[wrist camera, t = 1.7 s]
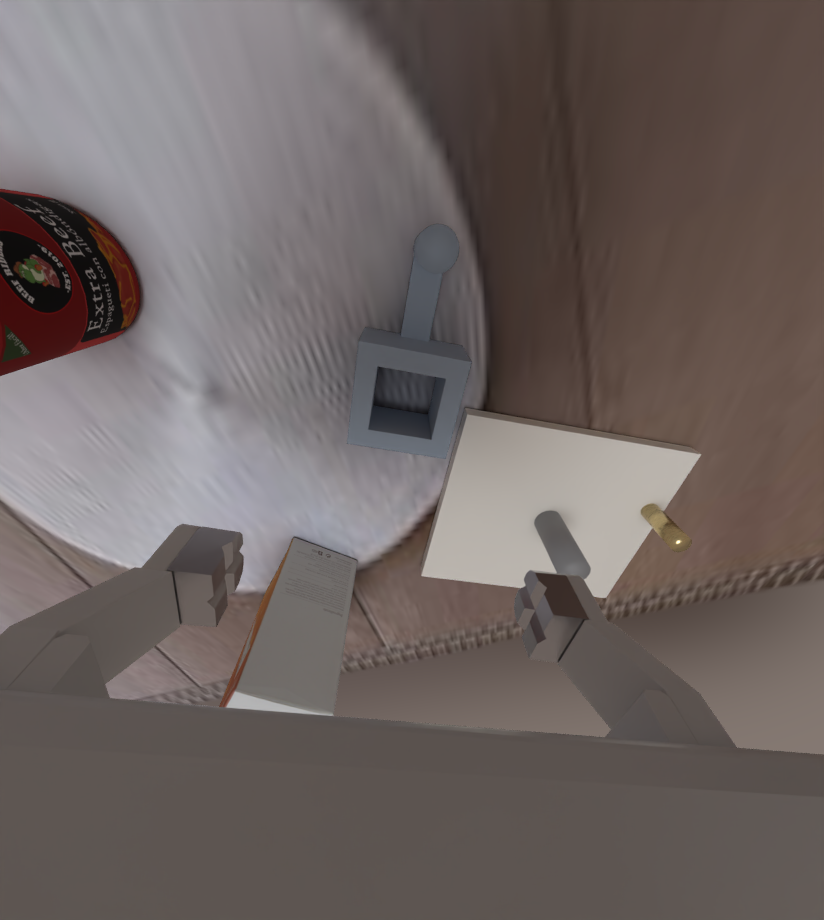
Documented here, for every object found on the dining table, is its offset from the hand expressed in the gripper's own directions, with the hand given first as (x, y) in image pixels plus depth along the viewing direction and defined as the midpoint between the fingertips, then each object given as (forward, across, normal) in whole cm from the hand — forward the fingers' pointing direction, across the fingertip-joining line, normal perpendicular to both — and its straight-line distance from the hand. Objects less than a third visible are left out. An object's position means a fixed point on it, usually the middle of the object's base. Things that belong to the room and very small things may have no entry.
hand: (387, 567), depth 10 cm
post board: (+17, -14, +9) cm, 24 cm away
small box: (+18, +5, +20) cm, 27 cm away
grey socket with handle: (+17, -1, -3) cm, 17 cm away
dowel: (+16, -22, +6) cm, 28 cm away
